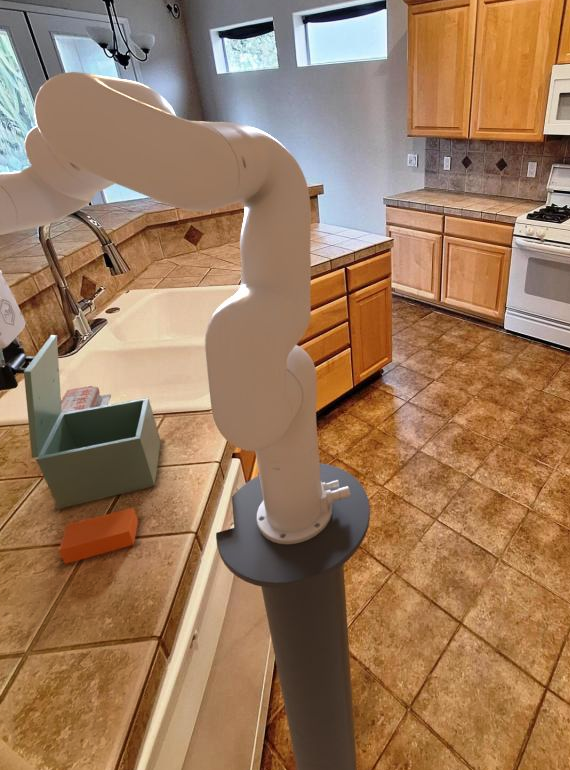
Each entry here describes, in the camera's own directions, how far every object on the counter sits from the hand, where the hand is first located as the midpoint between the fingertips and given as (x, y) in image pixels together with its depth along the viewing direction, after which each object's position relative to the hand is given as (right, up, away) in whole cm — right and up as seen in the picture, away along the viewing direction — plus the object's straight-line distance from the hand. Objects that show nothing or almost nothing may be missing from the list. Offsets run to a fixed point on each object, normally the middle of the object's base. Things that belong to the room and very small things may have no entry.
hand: (12, 378), depth 68 cm
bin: (+8, -19, +13) cm, 24 cm away
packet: (+15, -25, -1) cm, 30 cm away
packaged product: (-9, -12, +26) cm, 30 cm away
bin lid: (+3, -3, +3) cm, 5 cm away
